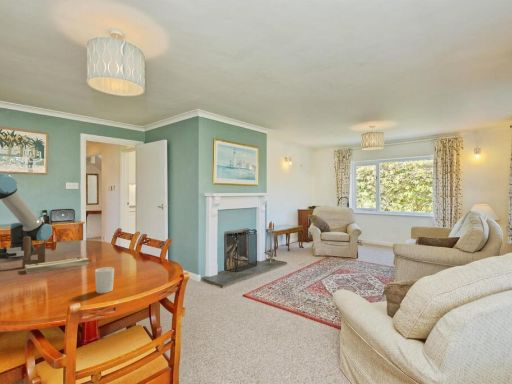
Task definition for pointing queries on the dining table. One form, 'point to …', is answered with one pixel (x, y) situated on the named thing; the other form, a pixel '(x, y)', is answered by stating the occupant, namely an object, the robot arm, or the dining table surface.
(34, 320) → the dining table surface
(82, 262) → the maple board
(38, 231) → the robot arm
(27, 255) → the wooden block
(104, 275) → the white cup
